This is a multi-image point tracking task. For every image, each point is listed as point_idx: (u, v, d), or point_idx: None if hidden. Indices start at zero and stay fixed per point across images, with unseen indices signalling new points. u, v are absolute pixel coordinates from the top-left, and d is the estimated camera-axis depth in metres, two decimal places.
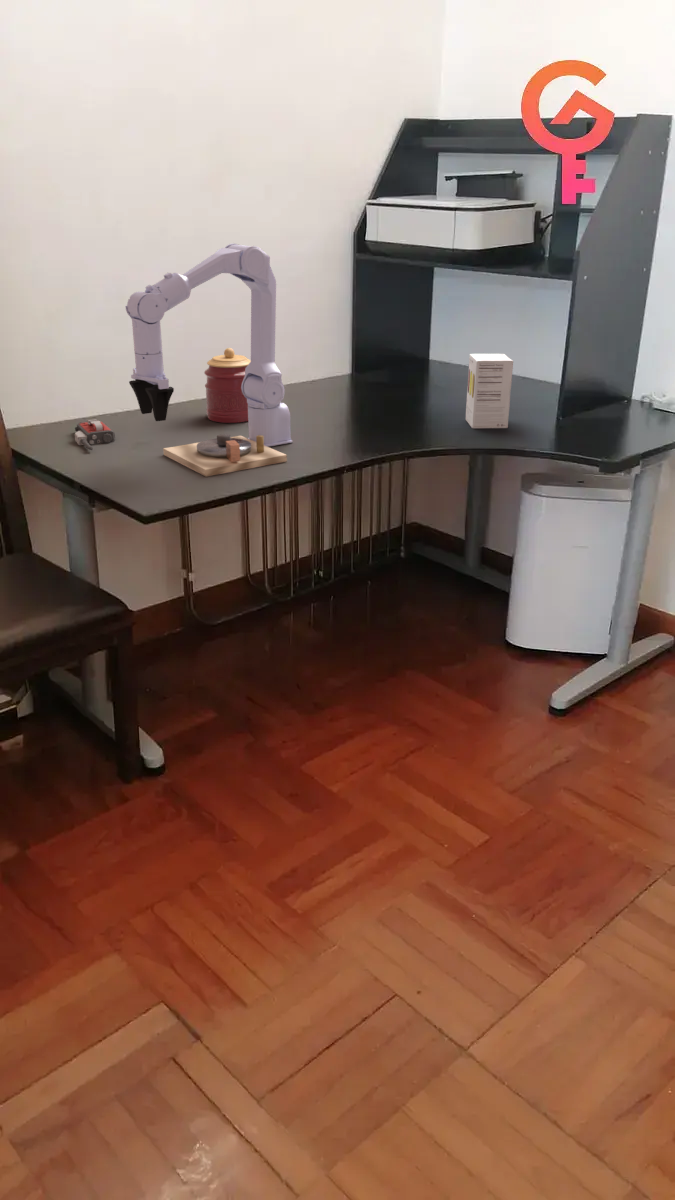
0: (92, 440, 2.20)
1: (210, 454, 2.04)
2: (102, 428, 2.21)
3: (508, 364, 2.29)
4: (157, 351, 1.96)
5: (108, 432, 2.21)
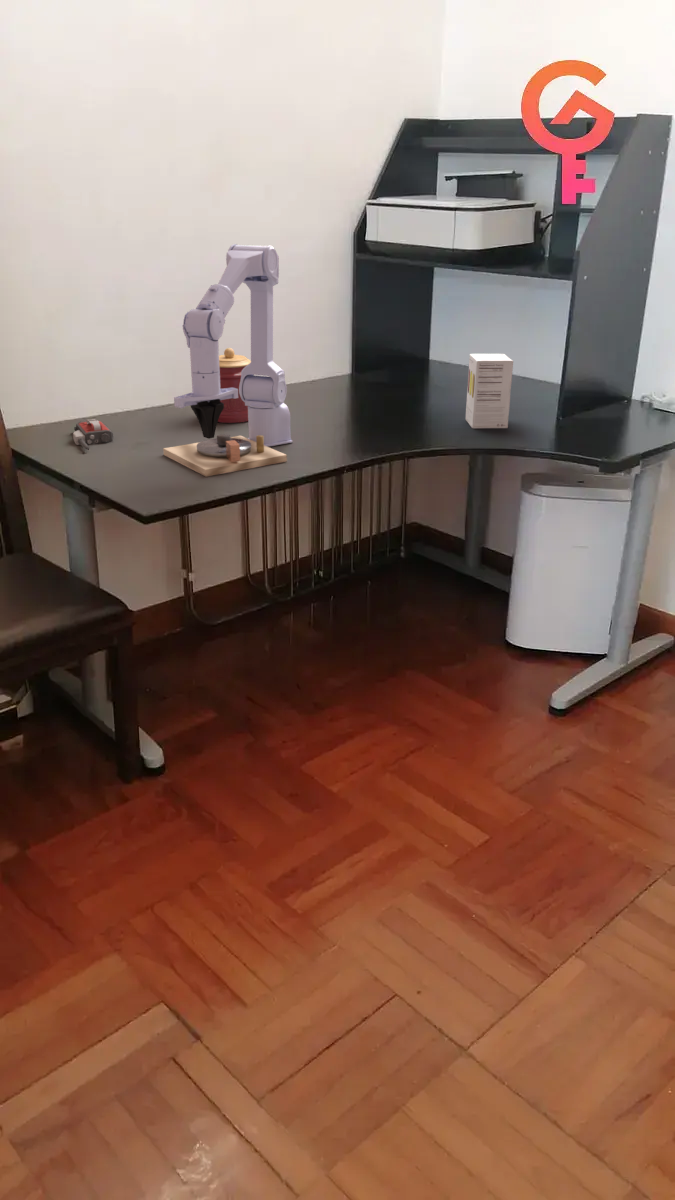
0: (90, 439, 2.20)
1: (210, 454, 2.04)
2: (100, 428, 2.21)
3: (508, 364, 2.29)
4: (219, 369, 1.90)
5: (106, 432, 2.21)
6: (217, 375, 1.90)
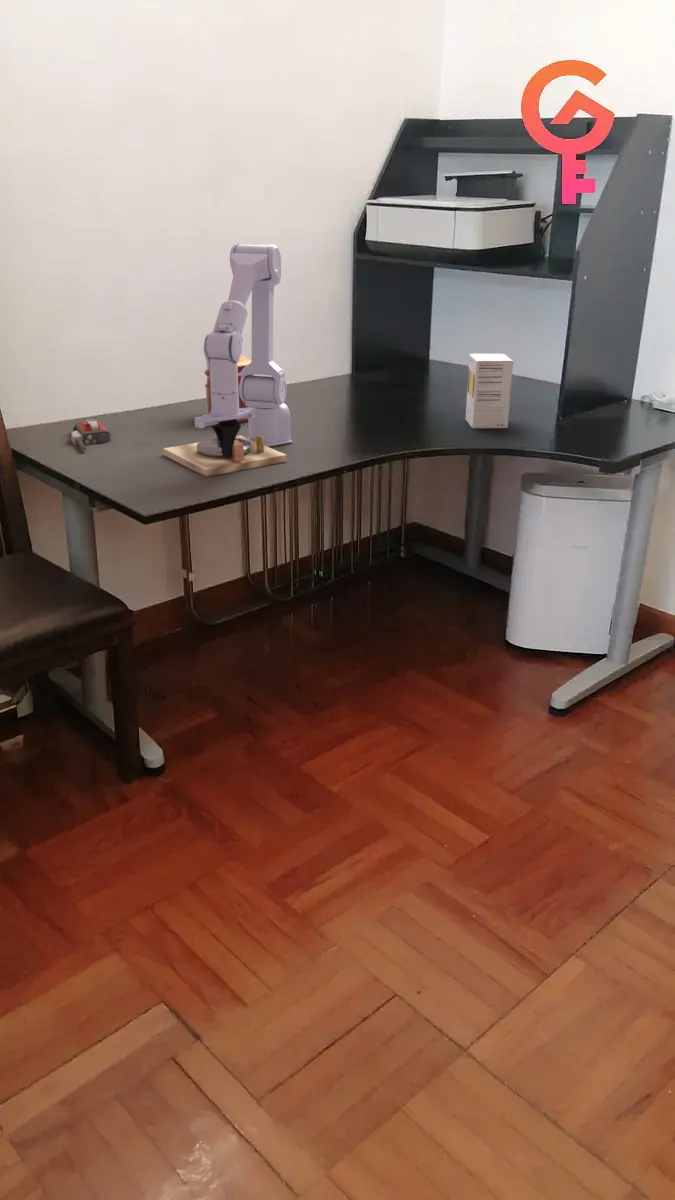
0: (87, 440, 2.20)
1: (212, 454, 2.04)
2: (98, 428, 2.21)
3: (508, 364, 2.29)
4: None
5: (104, 432, 2.21)
6: (236, 396, 1.95)
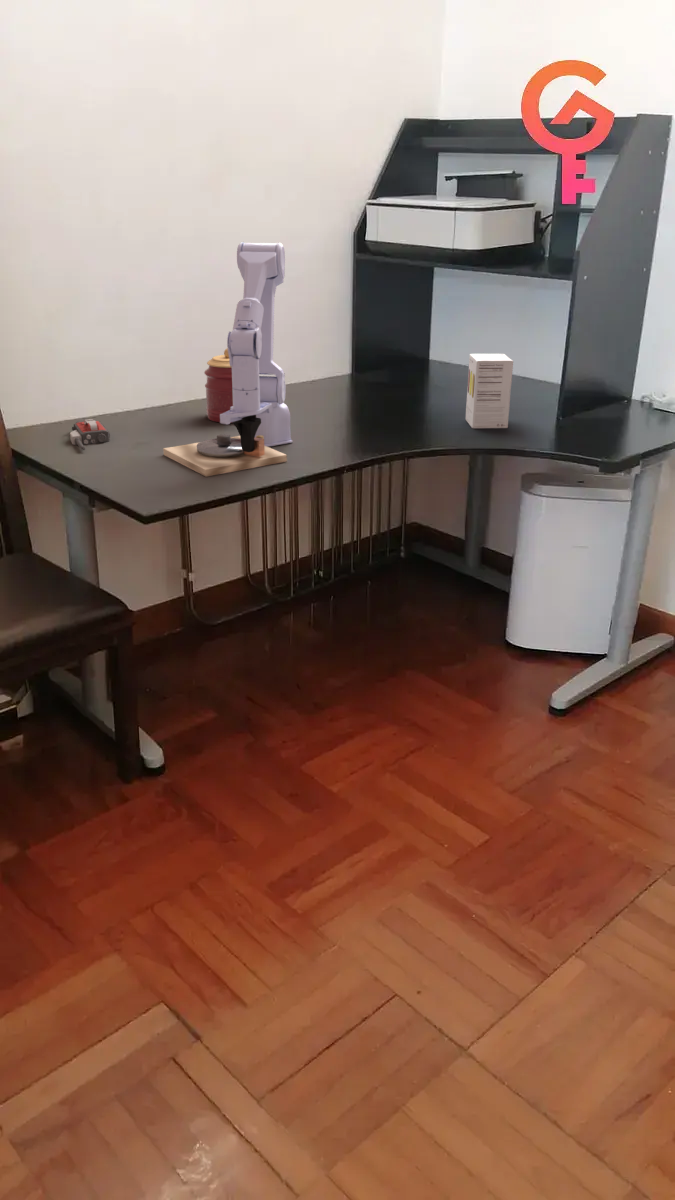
0: (86, 439, 2.20)
1: (229, 454, 2.04)
2: (97, 428, 2.21)
3: (508, 364, 2.29)
4: None
5: (103, 432, 2.21)
6: (258, 391, 1.98)
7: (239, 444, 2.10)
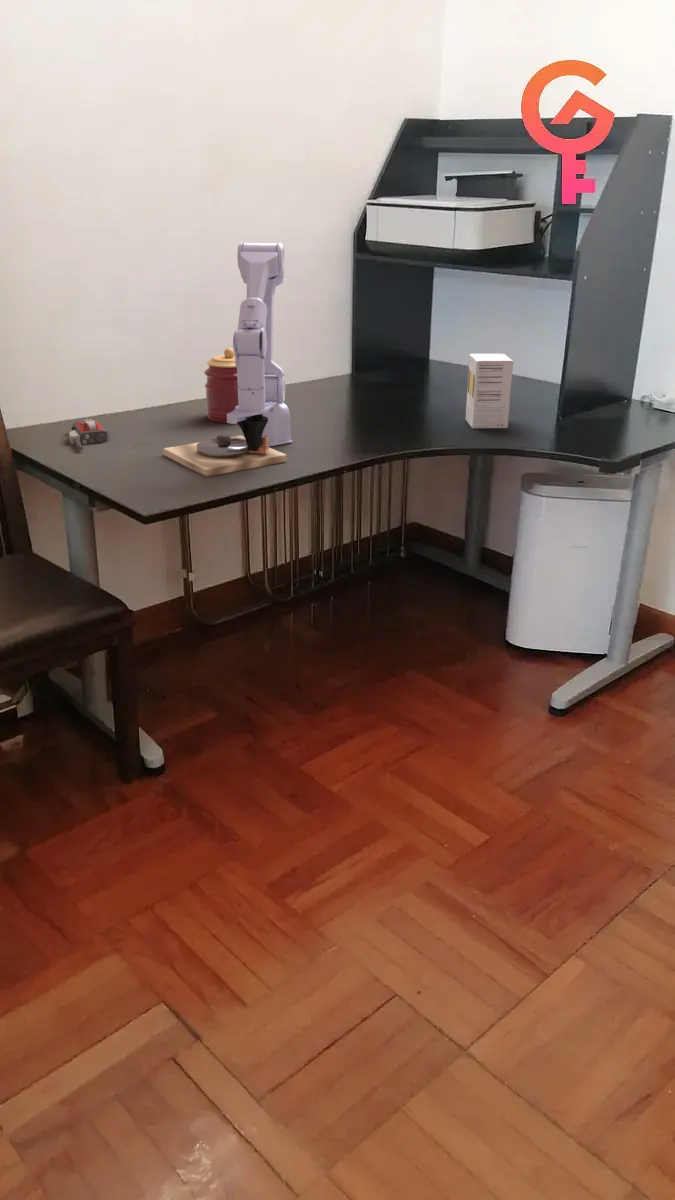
0: (85, 439, 2.21)
1: (237, 453, 2.05)
2: (95, 428, 2.22)
3: (508, 364, 2.29)
4: None
5: (101, 432, 2.21)
6: (264, 390, 1.99)
7: (238, 443, 2.10)
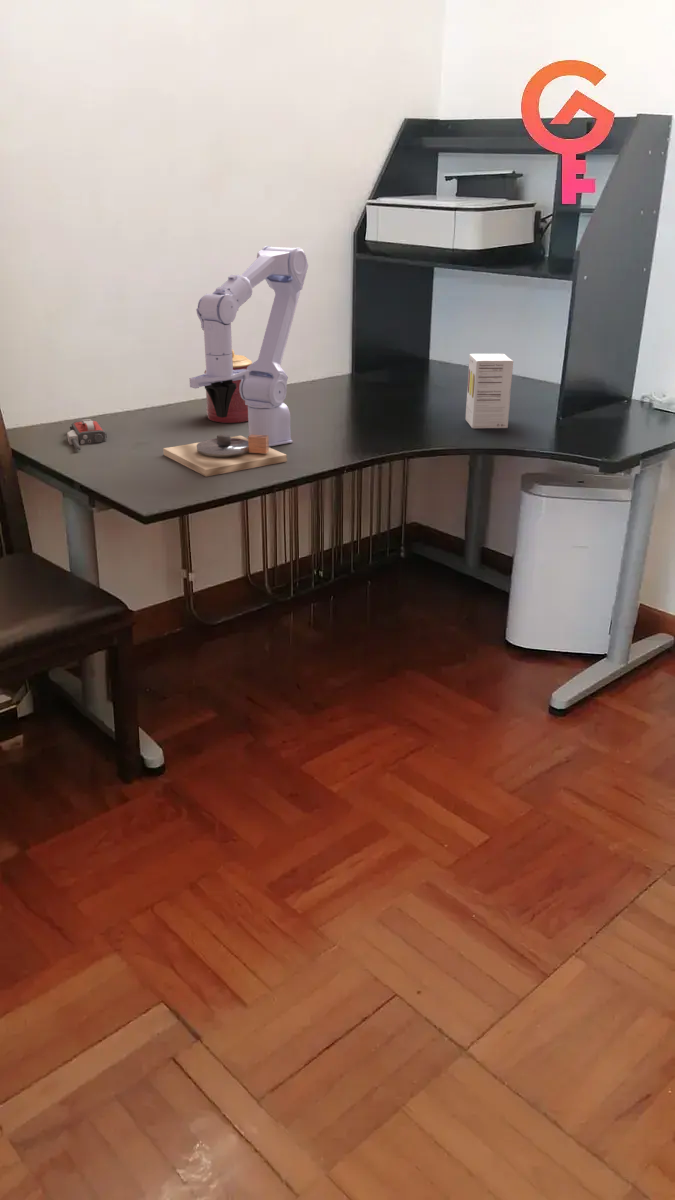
0: (83, 440, 2.21)
1: (237, 453, 2.05)
2: (94, 428, 2.22)
3: (508, 364, 2.29)
4: (230, 351, 2.00)
5: (99, 432, 2.21)
6: (230, 357, 2.00)
7: (238, 443, 2.10)
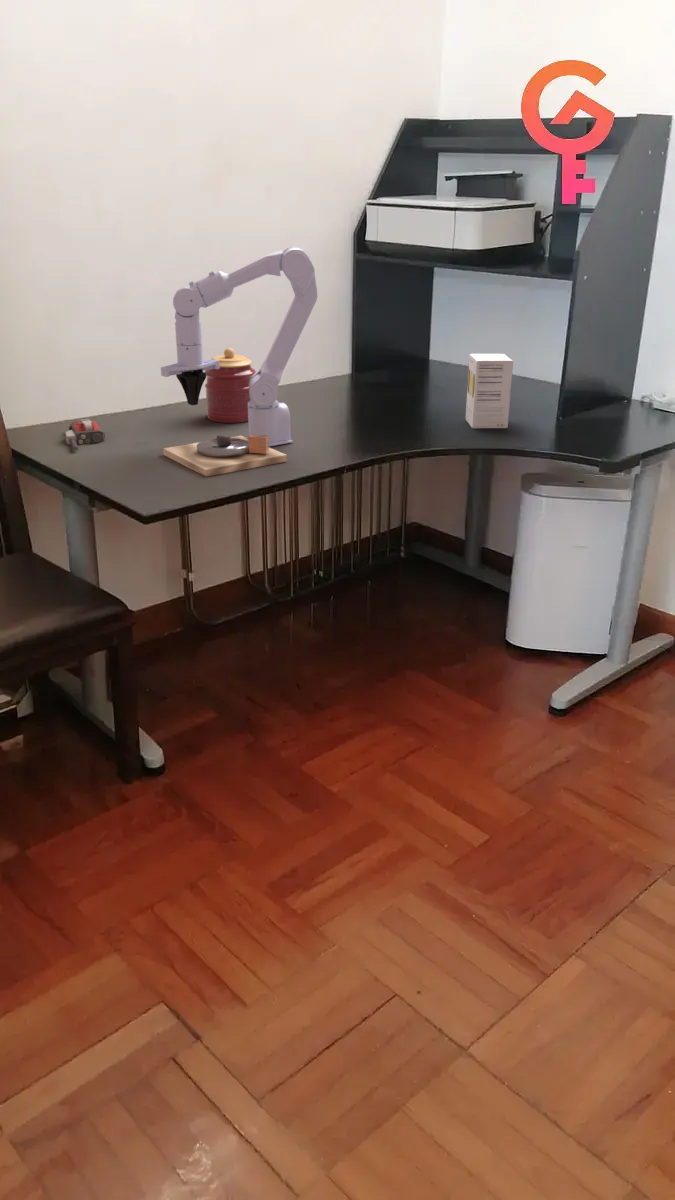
0: (81, 439, 2.21)
1: (237, 453, 2.05)
2: (92, 428, 2.21)
3: (508, 364, 2.29)
4: (192, 343, 2.09)
5: (97, 432, 2.21)
6: (200, 347, 2.10)
7: (238, 443, 2.10)
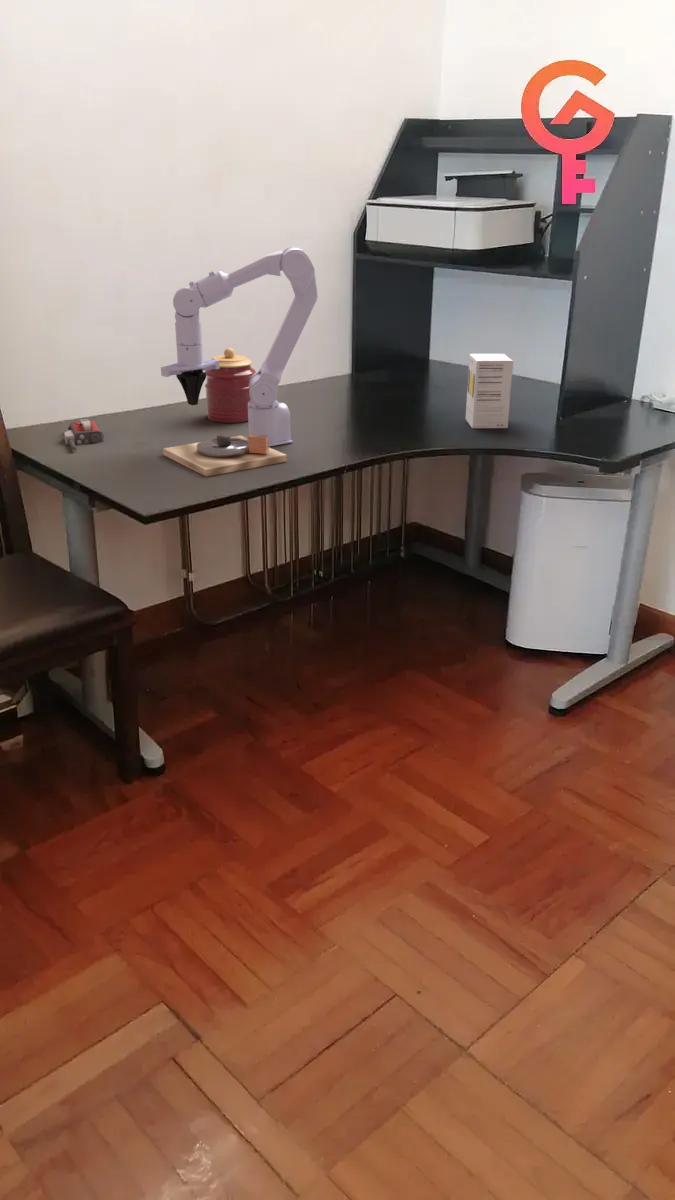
0: (79, 440, 2.21)
1: (237, 453, 2.05)
2: (90, 428, 2.21)
3: (508, 364, 2.29)
4: (192, 343, 2.09)
5: (96, 432, 2.21)
6: (200, 347, 2.10)
7: (238, 443, 2.10)
